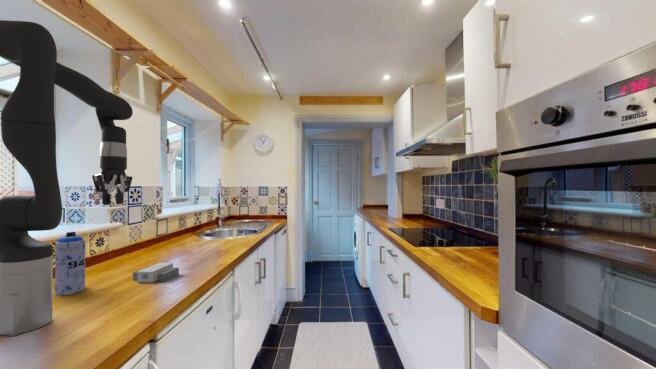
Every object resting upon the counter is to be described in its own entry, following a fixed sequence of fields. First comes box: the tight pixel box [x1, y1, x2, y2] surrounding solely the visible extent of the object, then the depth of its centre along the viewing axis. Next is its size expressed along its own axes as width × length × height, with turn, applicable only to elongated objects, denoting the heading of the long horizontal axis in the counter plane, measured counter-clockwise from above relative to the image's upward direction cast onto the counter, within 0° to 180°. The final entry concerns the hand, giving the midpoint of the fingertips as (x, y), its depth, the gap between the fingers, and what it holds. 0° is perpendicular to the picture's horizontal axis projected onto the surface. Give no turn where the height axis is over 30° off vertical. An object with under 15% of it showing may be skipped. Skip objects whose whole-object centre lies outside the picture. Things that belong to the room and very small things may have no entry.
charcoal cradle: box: [132, 265, 180, 283], centre depth 106 cm, size 8×13×3 cm, turn 83°
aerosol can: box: [53, 231, 87, 296], centre depth 93 cm, size 8×8×20 cm
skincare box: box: [137, 262, 174, 284], centre depth 106 cm, size 6×4×12 cm
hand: (113, 204), depth 97 cm, fingers open, 4 cm apart
